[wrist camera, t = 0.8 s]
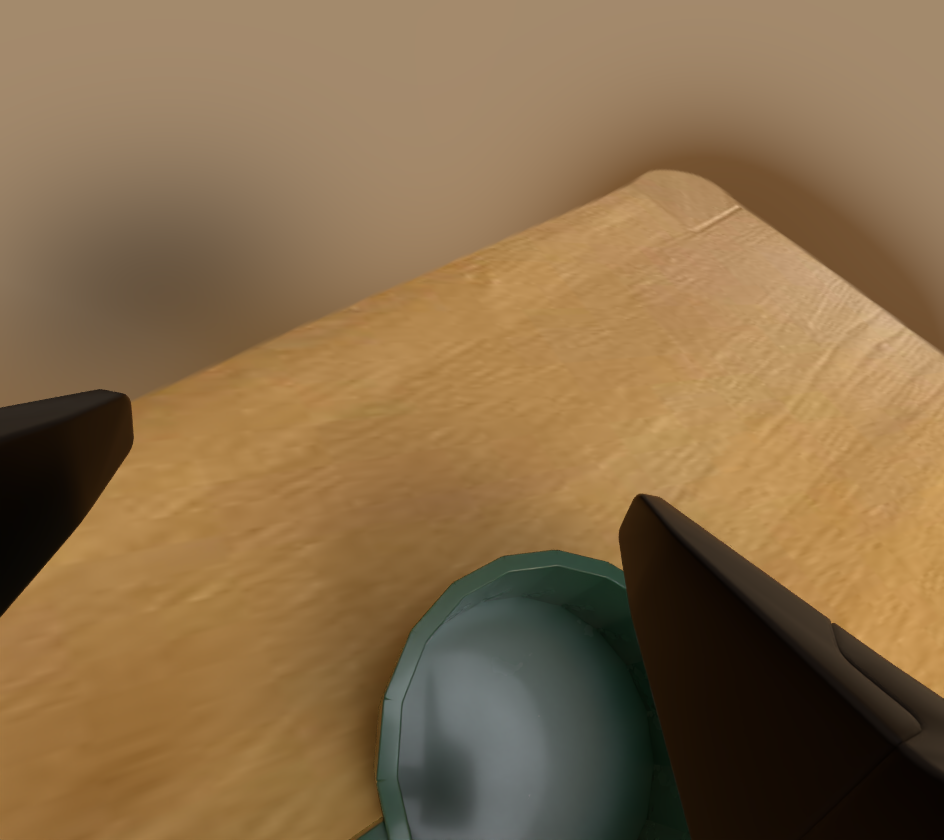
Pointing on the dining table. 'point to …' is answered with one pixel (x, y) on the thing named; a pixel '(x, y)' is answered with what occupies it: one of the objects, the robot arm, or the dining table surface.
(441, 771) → the pot
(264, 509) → the dining table surface
